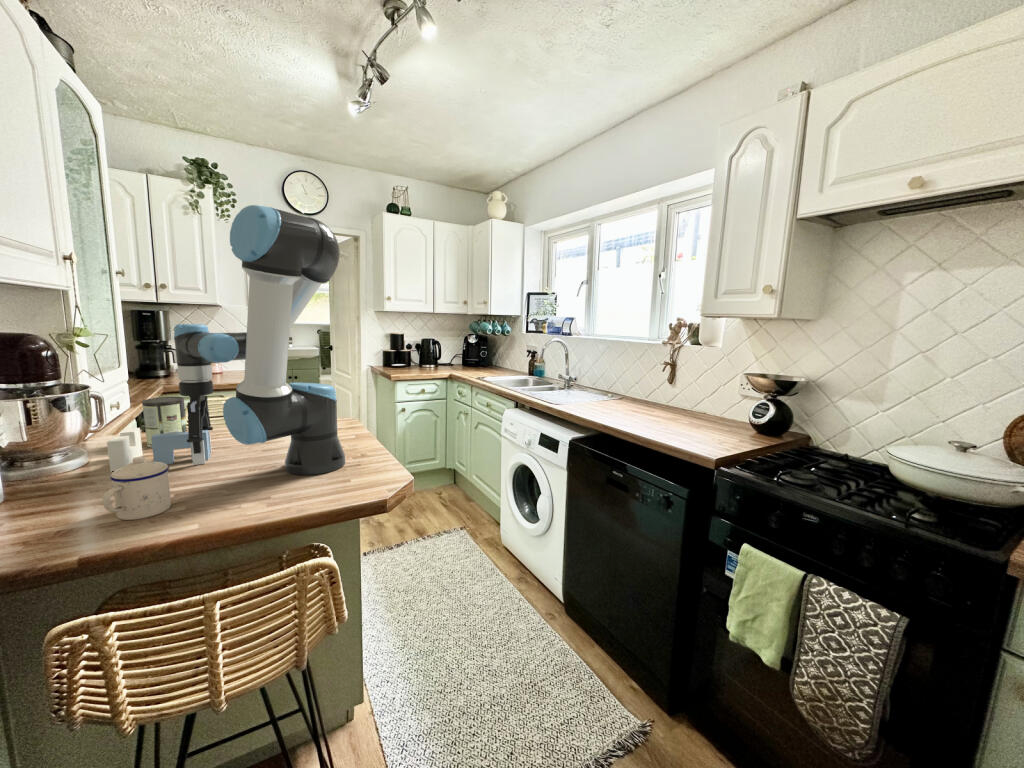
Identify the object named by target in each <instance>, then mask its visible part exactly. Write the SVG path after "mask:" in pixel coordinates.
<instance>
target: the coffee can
mask: <svg viewBox="0 0 1024 768" xmlns="http://www.w3.org/2000/svg"><path fill="white" fill-rule="evenodd" d="M141 404H142V411H143V412H142V413H143V419H144V420H143V421H144V428H145V436H146V446H147V447H148V448H152V439H151V437H152V436H153V435H154V434H163V433H176V432H188V429H187V428H188V426H187V419H186V409H185V397H184V396H183V397H182V396H161V397H160V396H159V397H153V398H146V399H144V400H141Z"/></svg>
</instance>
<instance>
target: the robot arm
mask: <svg viewBox="0 0 1024 768" xmlns="http://www.w3.org/2000/svg"><path fill="white" fill-rule="evenodd" d="M229 244H230V247H231V251H232V253H233V255H234V256H235V258H237V259H238V260H240V261H241V268H242V269H243V271H244V272H245V273H246V274H247V275H248V278H249V282H248V283H249V284H248V300H247V301H248V303H247V320H246V321H247V323H246V332H210V330H209V327H208V325H206V324H202V323H201V324H198V323H186V324H185V323H179V324H175V326H174V328H173V333H174V334H173V340H174V348H175V357H176V366H177V368H175V369H174V372H176V373H177V374H178V375H177V377H178V380H179V383H178V388H179V389H178V390H179V395H180V396H181V397H182V396H183V397H189V401H187V405H186V411H187V428H188V429H187V432H188V434H189V438H188V440H187V442H191V448H190V451H191V450H192V456H191V462H192V461H193V462H192V466H196V465H205V464H206V460H205V452H204V440H203V438H202V430H208V437H209V448H210V454H212V451H213V450H212V441H211V432H210V431H213V429H214V427H213V426H212V425H211V420H210V411H209V402H208V396H209V395H211V394H213V393H214V382H213V381H212V380H211V379H213V368H212V363H214V364H219V363H221V364H222V363H223V364H224V363H228V362H231V361H244V360H245V361H244V364H245V365H244V377H243V380H242V381H241V382H239V383H238V384H237V385H236V387H235V388H236V389H235V396H231V397H229V398H227V399H226V400H225V402H224V403H223V408H222V414H223V420H224V423H225V425H226V428H227V430H228V431H229V433H230V435H231V436H232V437H233V439H235V440H236V442H238V443H241V444H242V445H246V446H247V445H248V446H250V445H255V444H264V443H266V442H269V441H274V440H277V439H282V438H286V437H290V442H289V447H288V449H287V453H286V456H285V460H284V468H285V471H286V472H287V473H289V474H293V475H297V476H299V475H301V476H307V475H308V476H310V475H311V476H313V475H321V474H326V473H331V472H333V471H336V470H338V469H340V468H342V467H343V466H345V465H346V455H345V454H346V453H345V452H344V449H343V446H342V444H341V442H340V439H339V436H338V414H337V413H338V412H337V410H338V408H337V407H338V406H337V402H338V399H337V395H336V394H337V393H336V392H337V391H336V388H335V387H334V386H333V385H330V384H325V383H317V382H316V383H314V382H290V383H287V373H288V372H287V371H288V359H289V347H290V346H289V345H290V334H291V333H290V330H291V328H292V326H293V325H294V324H295V323H296V321H297V320H298V318H299V316H301V314H302V312H304V310H305V308H306V307H307V306H308V304H309V303H310V301H311V299H312V298H313V296H314V295H315V294H316V293H317V291H318V289H319V288H320V287H321V285H324V284H327V283H328V282H329V281H330V280H331V279H332V278H333V276H334V274H335V272H336V271H337V268H338V265H339V263H340V262H339V261H340V256H341V255H340V245H339V242H338V240H337V238H336V235H335V234H334V232H333V230H332V229H331V228H330V227H329V226H328V225H326V224H325V223H324V222H322V221H321V220H318V219H317V218H314V217H310V216H303V215H299V214H297V213H292V212H288V211H285V210H281V209H278V208H274V207H272V206H270V207H268V206H263V205H257V204H251V205H246V206H245V207H243V208H241V209H240V211H239V212H238V213H237V214H236V215H235V217H234V219H233V221H232V222H231V227H230V231H229ZM193 436H196V437H193Z"/></svg>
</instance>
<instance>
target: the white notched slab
mask: <svg viewBox="0 0 1024 768" xmlns="http://www.w3.org/2000/svg"><path fill="white" fill-rule="evenodd" d="M119 435H120V436H113V437H112V438H110V439H108V441H106V444H107V445H106V446H107V453H108V462H109V469H110V470H109V471H110V472H111V473H113V472H112V471H115V470H117V469H119V468H122V467H124V466H126V465H127V464H129V463H132V462H133V458H135V457H140V456H143V454H144V453H143V444H142V439H141V438H142V437H141V428H140V427H131V428H125V429H123V430H122V431H121V432H120V433H119Z"/></svg>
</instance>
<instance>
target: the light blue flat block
mask: <svg viewBox="0 0 1024 768" xmlns="http://www.w3.org/2000/svg"><path fill="white" fill-rule="evenodd" d="M193 437H196V436H193ZM188 438H189V434H188V431H187V432H176V433H163V434H154V435H153V436H152V437H151V439H152V447H151V448H152V455H153V456H152V457H153V462H162V463H165V464H167V465H173V463H174V462H175V461H174V460H175V451H174V450H180V449H181V450H182V449H184V450H185V449H190V454H191V457H192V450H191V442H187V440H188ZM202 438H203V440H204V452H205V461H209V460H210V458H211V453H210V448H209V437H208V430H202ZM208 459H209V460H208ZM173 461H174V462H173Z"/></svg>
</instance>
